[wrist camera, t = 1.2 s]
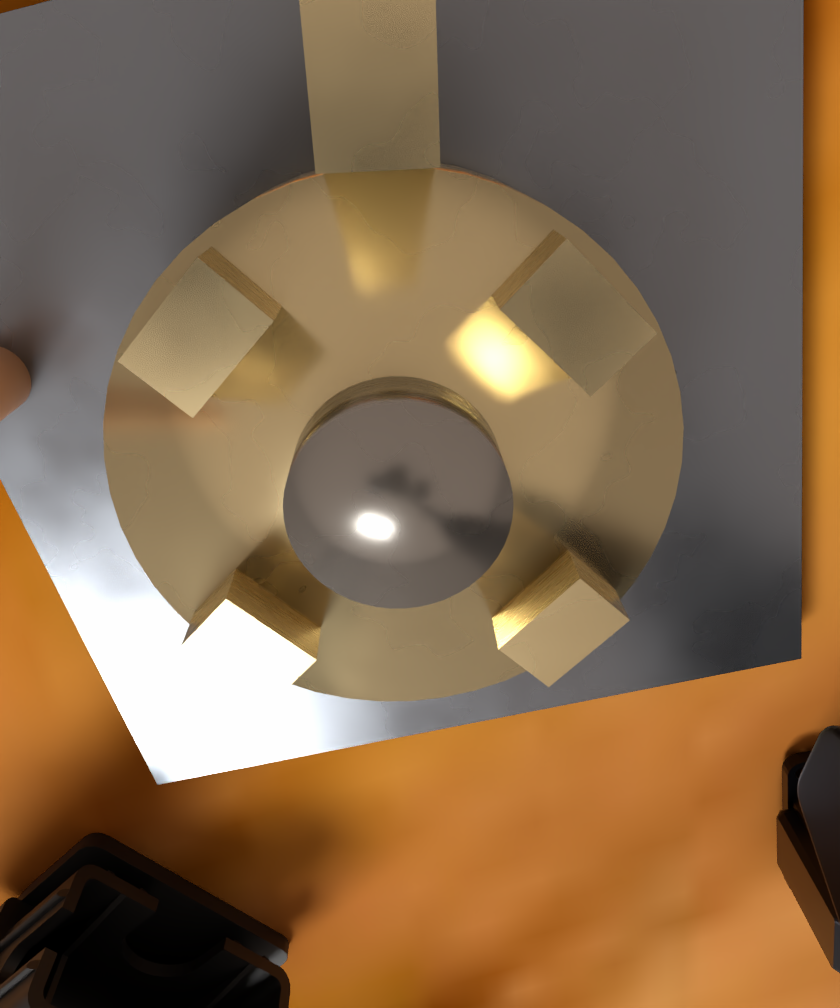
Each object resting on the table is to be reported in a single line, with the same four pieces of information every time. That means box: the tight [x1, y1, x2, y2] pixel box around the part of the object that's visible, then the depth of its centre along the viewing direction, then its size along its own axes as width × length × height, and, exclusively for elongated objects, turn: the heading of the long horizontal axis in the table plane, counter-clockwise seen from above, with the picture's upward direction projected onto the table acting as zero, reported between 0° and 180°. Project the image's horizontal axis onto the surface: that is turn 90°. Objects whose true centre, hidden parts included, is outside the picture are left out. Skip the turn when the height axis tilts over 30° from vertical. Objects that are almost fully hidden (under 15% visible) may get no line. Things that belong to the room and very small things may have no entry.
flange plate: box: [0, 0, 804, 785], centre depth 20 cm, size 20×20×1 cm
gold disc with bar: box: [103, 0, 684, 703], centre depth 16 cm, size 18×12×5 cm, turn 2°
